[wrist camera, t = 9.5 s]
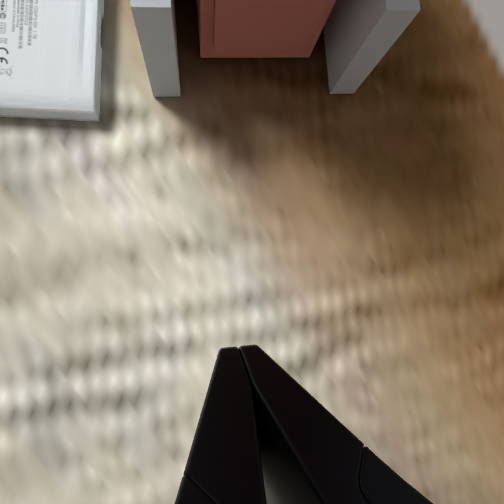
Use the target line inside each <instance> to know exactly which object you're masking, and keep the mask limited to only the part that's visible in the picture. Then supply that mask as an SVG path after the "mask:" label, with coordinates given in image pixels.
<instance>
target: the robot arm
mask: <svg viewBox="0 0 504 504" xmlns="http://www.w3.org/2000/svg"><path fill="white" fill-rule="evenodd" d="M175 504H433V503H432V502H430V501H429V500H428V499H427V498H425V497H424V496H423V495H422V494H421V493H419V492H418V491H417V490H416V489H414V488H413V487H412V486H411V485H409V484H408V483H407V482H406V481H404V480H403V479H402V478H401V477H400V476H399V475H398V474H396V473H395V472H394V471H393V470H392V469H391V468H390V467H389V466H387V465H386V464H385V463H384V462H383V461H382V460H381V459H380V458H378V457H377V456H376V455H375V454H374V453H373V452H372V451H371V450H370V449H369V448H368V447H364V444H363V443H362V442H361V441H360V440H359V439H358V438H357V437H356V436H355V435H353V434H352V433H351V432H350V431H349V430H348V429H347V428H346V427H345V426H344V425H343V424H342V423H341V422H339V421H338V420H337V419H336V418H335V417H334V416H333V415H332V414H331V413H330V412H329V411H328V410H327V409H325V408H324V407H323V406H322V405H321V404H320V403H319V402H318V401H317V400H316V399H315V398H314V397H313V396H311V395H310V394H309V393H308V392H307V391H306V390H305V389H304V388H303V387H302V386H301V385H300V384H299V383H298V382H296V381H295V380H294V379H293V378H292V377H291V376H290V375H289V374H288V373H287V372H286V371H285V370H284V369H282V368H281V367H280V366H279V365H278V364H277V363H276V362H275V361H274V360H273V359H272V358H271V357H270V356H268V355H267V354H266V353H265V352H264V351H263V350H262V349H261V348H260V347H259V346H257V345H246V346H240V347H239V349H238V348H237V347H226V348H221V349H220V350H219V352H218V356H217V359H216V363H215V366H214V370H213V373H212V377H211V380H210V384H209V387H208V391H207V394H206V398H205V401H204V405H203V408H202V412H201V415H200V419H199V422H198V426H197V429H196V433H195V436H194V440H193V443H192V447H191V450H190V454H189V457H188V460H187V464H186V467H185V471H184V477H183V478H182V480H181V484H180V487H179V491H178V494H177V498H176V501H175Z"/></svg>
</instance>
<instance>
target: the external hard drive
mask: <svg viewBox="0 0 504 504" xmlns="http://www.w3.org/2000/svg"><path fill="white" fill-rule="evenodd" d="M103 17H104V0H0V117H18V118H35V119H55V120H73V121H88V122H99V121H100V94H101V69H102V48H101V45H100V42H101V22H102V20H103Z"/></svg>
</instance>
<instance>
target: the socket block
mask: <svg viewBox="0 0 504 504" xmlns="http://www.w3.org/2000/svg"><path fill="white" fill-rule="evenodd" d="M130 1H131V9H132V13H133V17H134V21H135V25H136V29H137V33H138V37H139V41H140V45H141V49H142V53H143V57H144V61H145V65H146V69H147V72H148V76H149V80H150V84H151V88H152V92H153V96H154V97H175V96H181V93H180V78H179V63H178V47H177V32H176V17H175V1H174V0H130ZM419 12H420V1H419V0H336V2H335V4H334V6H333V8H332V11H331V13H330V15H329V17H328V19H327V21H326V23H325V25H324V27H323V28H324V39H325V50H326V61H327V72H328V83H329V94H354V93H355V91H356V90H357V89H358V88H359V86H360V85H361V84H362V83H363V81H364V80H365V79H366V78H367V76H368V75H369V74H370V73H371V71H372V70H373V69H374V68H375V66H376V65H377V64H378V63H379V61H380V60H381V59H382V58H383V56H384V55H385V54H386V53H387V51H388V50H389V49H390V48H391V46H392V45H393V44H394V43H395V41H396V40H397V39H398V38H399V36H400V35H401V34H402V33H403V31H404V30H405V29H406V28H407V26H408V25H409V24H410V23H411V22H412V20H413V19H414V18H415V17H416V15H417V14H418V13H419Z"/></svg>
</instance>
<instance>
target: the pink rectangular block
mask: <svg viewBox="0 0 504 504" xmlns="http://www.w3.org/2000/svg"><path fill="white" fill-rule="evenodd" d="M335 2H336V0H197V13H198V27H199V42H200V56H201V58H270V57H310V55H311V52H312V50H313V48H314V46H315V44H316V42H317V40H318V38H319V36H320V34H321V31H322V29H323V27H324V25H325V23H326V21H327V19H328V17H329V15H330V13H331V11H332V8H333V6H334V4H335Z"/></svg>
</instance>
